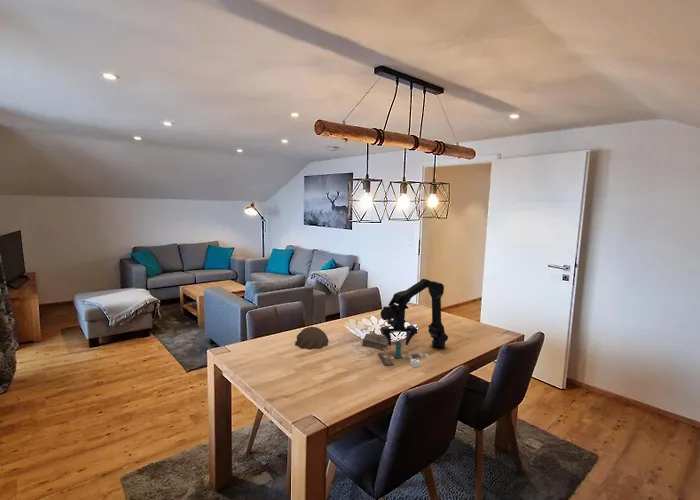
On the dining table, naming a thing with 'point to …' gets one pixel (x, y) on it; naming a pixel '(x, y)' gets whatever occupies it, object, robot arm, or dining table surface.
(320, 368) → the dining table surface
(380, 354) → the board
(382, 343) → the marble piece
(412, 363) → the die
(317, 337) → the decorative dome
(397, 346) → the pawn
